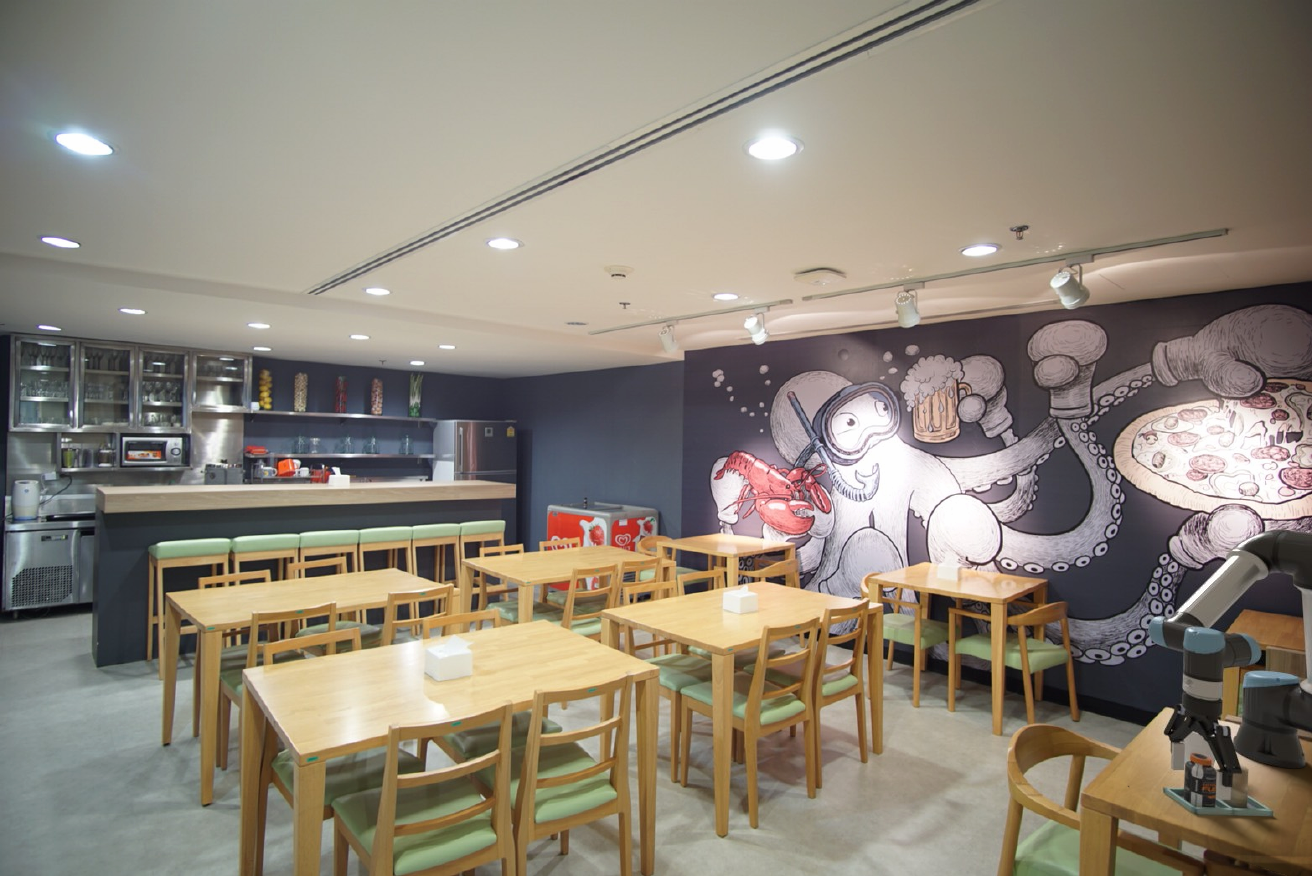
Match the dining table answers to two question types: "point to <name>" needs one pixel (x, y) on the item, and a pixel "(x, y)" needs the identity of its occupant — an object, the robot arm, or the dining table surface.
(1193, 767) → the pill bottle
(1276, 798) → the dining table surface
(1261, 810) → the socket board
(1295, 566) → the robot arm
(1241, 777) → the beech dowel
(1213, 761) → the cup
